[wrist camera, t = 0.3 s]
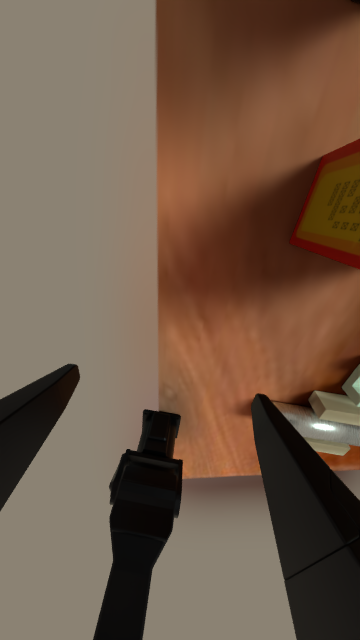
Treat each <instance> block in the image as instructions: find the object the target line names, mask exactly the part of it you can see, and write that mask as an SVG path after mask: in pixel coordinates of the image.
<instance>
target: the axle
mask: <svg viewBox="0 0 360 640" xmlns="http://www.w3.org/2000/svg"><path fill="white" fill-rule="evenodd" d="M272 402H273V401H272ZM273 404H274V405H275V406H276V407H277V408H278V409H279V410H280V412H281V413H282V414H283V415H284V416H285V417H286V418H287V419H288V421H289V422H290V423H291V424H292V425H293V426H294V427H295V429H296V430H297V431H298V432H299V433H300V434H301V435H302V437H308V438H314V439H320V440H326V441H332V442H337V443H343V444H349V445H355V446H360V426H358V425H352V424H346V423H341V422H335V421H329V420H323V419H319V418H318V417H317V415H316V413H315V411H314V409H313V408H310V407H304V406H298V405H292V404H286V403H280V402H273Z"/></svg>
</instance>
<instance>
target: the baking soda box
mask: <svg viewBox="0 0 360 640" xmlns="http://www.w3.org/2000/svg"><path fill="white" fill-rule="evenodd" d="M289 243H290V244H292V245H295V246H298V247H301V248H303V249H306V250H309V251H311V252H314V253H317V254H320V255H322V256H325V257H328V258H330V259H333V260H336V261H339V262H341V263H344V264H347V265H349V266H352V267H355V268H357V269H360V139H358V140H356V141H354V142H352V143H349V144H347V145H345V146H343V147H341V148H339V149H336V150H334V151H332V152H330V153H328V154H326V155H324V156H323V157H322V159H321V162H320V165H319V167H318V170H317V172H316V175H315V177H314V180H313V183H312V185H311V188H310V190H309V193H308V195H307V198H306V201H305V203H304V206H303V208H302V211H301V214H300V216H299V219H298V221H297V224H296V226H295V229H294V232H293V234H292V237H291V239H290V242H289Z"/></svg>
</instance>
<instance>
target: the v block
mask: <svg viewBox="0 0 360 640" xmlns="http://www.w3.org/2000/svg"><path fill="white" fill-rule="evenodd" d="M342 389H343V390H344V391H345V392H346V394H347V395H348V396H349V397H350V399H351V400H352V401H353V403H354V404H355V405H356V406H357V407H360V364H359V365H358V366H357V368H356V369H355V370H354V372H353V373H352V374H351V375H350V377H349V378H348V379H347V381H346V382H345V383H344V384H343V386H342Z"/></svg>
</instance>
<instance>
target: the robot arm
mask: <svg viewBox="0 0 360 640" xmlns="http://www.w3.org/2000/svg"><path fill="white" fill-rule="evenodd" d="M79 380H80V374H79V369H78V366H77V365H75V364H67V365H65V366H63V367H61V368H59V369H57V370H55V371H54V372H52V373H50V374H48V375H46V376H44V377H42V378H40V379H38V380H36V381H35V382H33V383H31V384H29V385H27V386H25V387H23V388H22V389H19V390H17V391H16V392H14V393H12V394H10V395H8V396H6V397H4V398H2V399H0V511H1V509H2V508H3V506H4V505H5V503H6V501H7V500H8V498H9V497H10V495H11V493H12V492H13V490H14V489H15V487H16V485H17V484H18V482H19V481H20V479H21V478H22V476H23V475H24V473H25V471H26V470H27V468H28V467H29V465H30V464H31V462H32V460H33V459H34V457H35V456H36V454H37V452H38V451H39V449H40V448H41V446H42V445H43V443H44V441H45V440H46V438H47V437H48V435H49V433H50V432H51V430H52V429H53V427H54V426H55V424H56V422H57V421H58V419H59V418H60V416H61V415H62V413H63V411H64V410H65V408H66V406H67V404H68V402H69V400H70V398H71V396H72V394H73V392H74V390H75V388H76V386H77V384H78V382H79ZM251 412H252V422H253V431H254V440H255V445H256V450H257V455H258V460H259V464H260V469H261V474H262V478H263V483H264V488H265V492H266V497H267V501H268V506H269V511H270V516H271V521H272V525H273V530H274V535H275V539H276V544H277V549H278V553H279V558H280V563H281V567H282V572H283V577H284V579H285V581H284V582H285V587H286V591H287V596H288V601H289V606H290V610H291V615H292V619H293V624H294V629H295V634H296V638H297V640H360V500H359V499H358V498H357V497H356V496H354V494H353V493H352V492H351V491H350V490H349V488H348V487H347V486H346V485H345V484H344V483H343V482H342V481H341V480H340V478H339V477H338V476H337V475H336V474H335V473H334V472H333V471H332V470H331V469H330V467H329V466H328V465H327V464H326V463H325V462H324V460H323V459H322V458H321V457H320V456H319V455H318V454H317V452H316V451H315V450H314V449H313V448H312V447H311V446H310V444H309V443H308V442H307V441H306V440H305V439H304V438H303V437H302V435H301V434H300V433H299V432H298V431H297V430H296V429H295V427H294V426H293V425H292V424H291V423H290V422H289V421H288V419H287V418H286V417H285V416H284V415H283V414H282V413H281V412H280V410H279V409H278V408H277V407H276V406H275V405H274V404H273V402H272V401H271V400H270V399H269V398H268V397H267V396H266V395H264V394H259V393H258V394H256V395H255V398H254V400H253V402H252V405H251ZM180 420H181V416H180V415H176V414H170V413H164V412H158V411H152V410H146V409H145V410H144V411H143V425H142V427H143V428H142V435H141V438H140V442H139V445H138V449H137V451H132V450H130V449H127V450H126V453H124V454H122V457H121V460H120V463H119V465H118V468H117V470H116V472H115V474H114V476H113V479H112V480H111V482H110V485H109V489H110V491H111V495H110V497H111V498H110V505H113V507H112V510H111V514H110V531H111V541H112V552H113V563H112V568H111V572H110V575H109V579H108V583H107V588H106V591H105V595H104V599H103V603H102V607H101V611H100V614H99V618H98V623H97V626H96V630H95V634H94V639H93V640H142V638H143V631H144V624H145V617H146V610H147V603H148V596H149V589H150V582H151V575H152V569H153V567H154V565H155V563H156V561H157V559H158V557H159V555H160V553H161V551H162V550H163V548H164V546H165V544H166V542H167V540H168V538H169V536H170V534H171V532H172V528H173V520H174V518H178V515H179V509H180V503H181V493H182V466H183V460H181V459H179V460H177V459H173V453H174V445H175V438H177V435H178V430H179V425H180Z"/></svg>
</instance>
